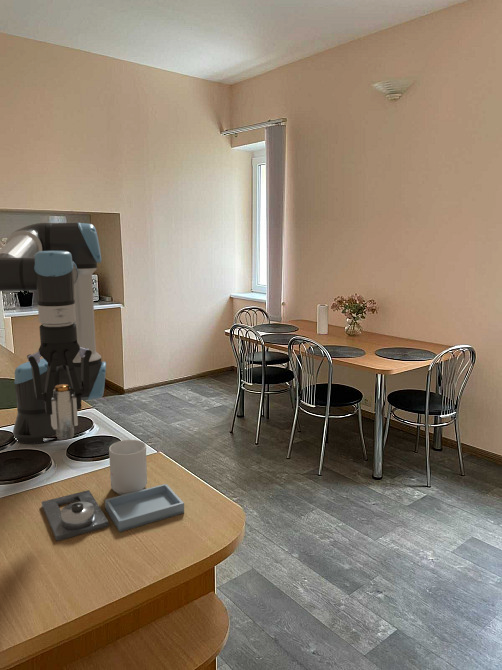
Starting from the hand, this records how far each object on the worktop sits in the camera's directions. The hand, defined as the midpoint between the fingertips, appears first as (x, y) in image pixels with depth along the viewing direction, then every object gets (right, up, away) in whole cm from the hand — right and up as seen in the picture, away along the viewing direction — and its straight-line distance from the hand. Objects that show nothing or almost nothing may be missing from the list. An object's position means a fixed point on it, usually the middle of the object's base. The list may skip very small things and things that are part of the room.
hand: (64, 425), depth 119 cm
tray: (+17, -20, +3) cm, 27 cm away
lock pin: (0, -3, +1) cm, 3 cm away
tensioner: (+2, -21, +1) cm, 21 cm away
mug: (+11, -18, +15) cm, 26 cm away
